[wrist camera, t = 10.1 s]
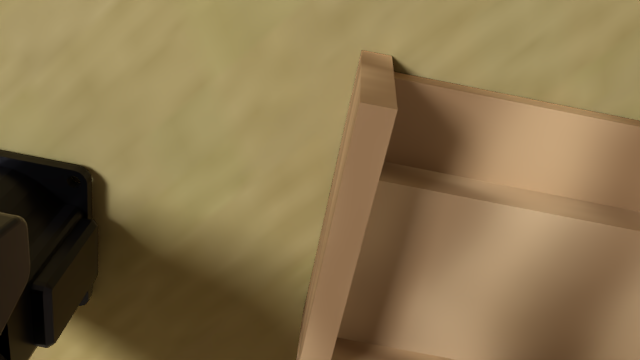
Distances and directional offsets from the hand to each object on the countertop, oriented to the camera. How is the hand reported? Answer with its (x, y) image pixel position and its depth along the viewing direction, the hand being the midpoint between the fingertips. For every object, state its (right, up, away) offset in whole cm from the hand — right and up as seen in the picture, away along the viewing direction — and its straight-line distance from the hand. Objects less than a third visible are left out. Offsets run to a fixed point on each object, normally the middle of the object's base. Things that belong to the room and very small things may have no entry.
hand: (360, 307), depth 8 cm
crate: (+9, 0, +15) cm, 17 cm away
